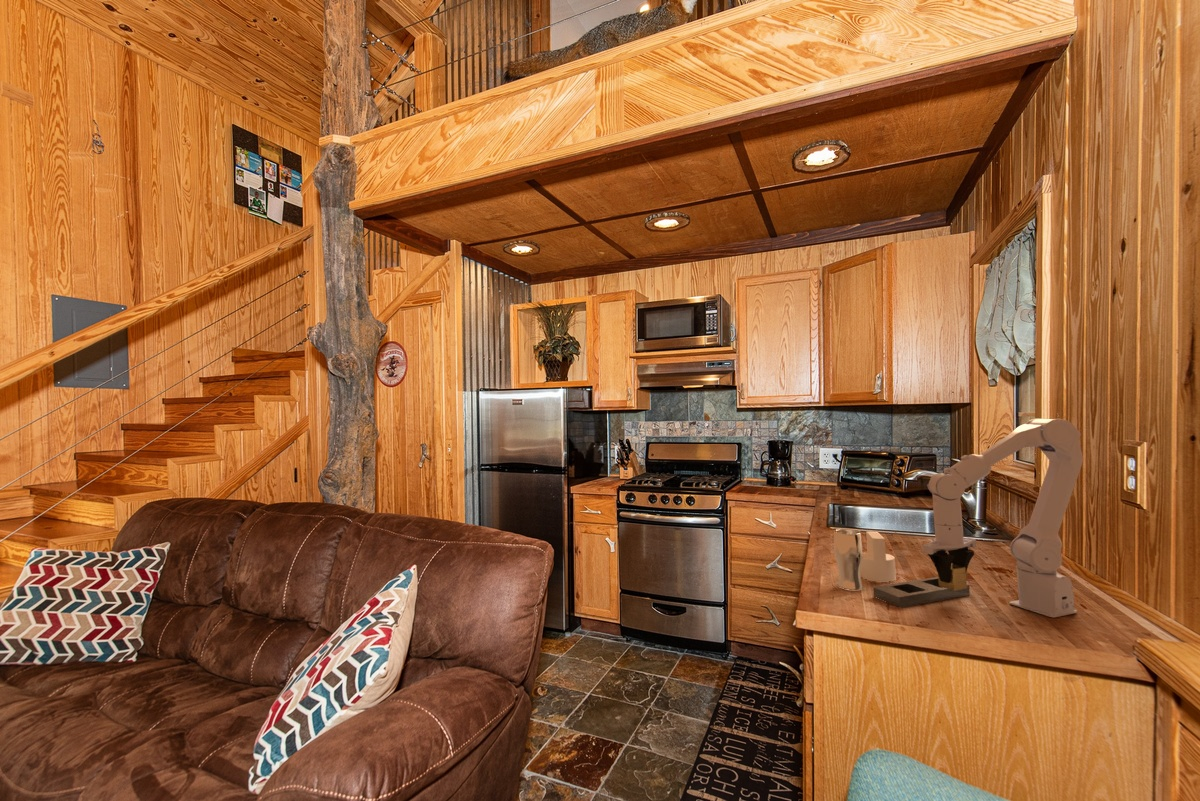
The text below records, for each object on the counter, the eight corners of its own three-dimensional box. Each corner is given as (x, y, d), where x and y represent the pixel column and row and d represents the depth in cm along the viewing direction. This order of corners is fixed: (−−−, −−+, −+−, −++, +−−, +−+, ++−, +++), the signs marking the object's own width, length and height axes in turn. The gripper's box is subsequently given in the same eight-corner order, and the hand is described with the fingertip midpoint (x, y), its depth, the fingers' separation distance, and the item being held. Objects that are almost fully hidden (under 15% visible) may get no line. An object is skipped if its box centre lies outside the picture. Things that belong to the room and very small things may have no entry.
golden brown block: (967, 588, 124) (965, 567, 125) (954, 590, 123) (952, 569, 124) (951, 583, 128) (949, 563, 128) (938, 585, 127) (937, 565, 127)
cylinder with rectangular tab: (899, 583, 142) (897, 538, 143) (863, 581, 145) (861, 538, 145) (891, 573, 151) (888, 531, 151) (857, 572, 153) (854, 531, 154)
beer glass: (830, 586, 142) (827, 530, 143) (850, 582, 145) (846, 527, 145) (850, 593, 136) (847, 535, 136) (871, 589, 138) (867, 532, 139)
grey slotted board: (940, 585, 139) (940, 576, 139) (969, 595, 131) (969, 585, 131) (873, 597, 132) (873, 587, 133) (900, 607, 125) (899, 597, 125)
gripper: (955, 517, 132) (959, 571, 132) (910, 523, 128) (914, 579, 128) (983, 522, 125) (987, 579, 125) (936, 529, 121) (940, 588, 121)
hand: (952, 580), depth 126 cm, fingers closed on golden brown block, 4 cm apart
